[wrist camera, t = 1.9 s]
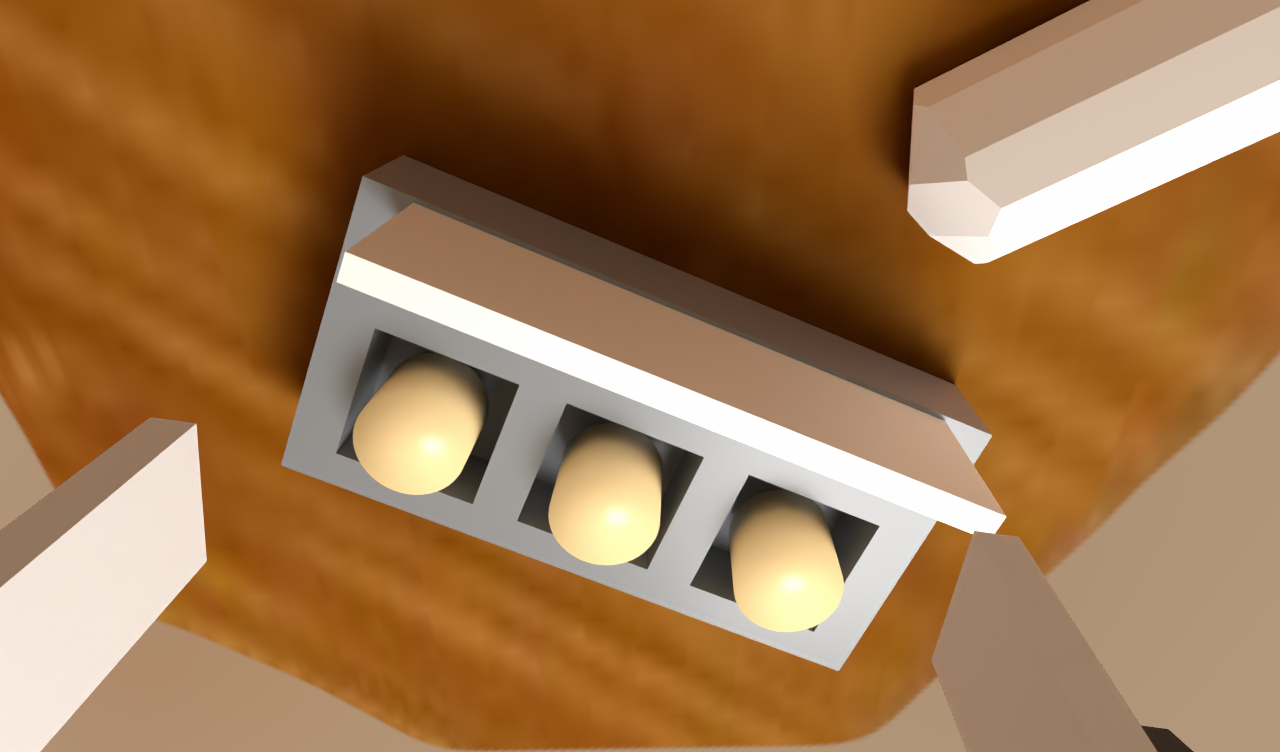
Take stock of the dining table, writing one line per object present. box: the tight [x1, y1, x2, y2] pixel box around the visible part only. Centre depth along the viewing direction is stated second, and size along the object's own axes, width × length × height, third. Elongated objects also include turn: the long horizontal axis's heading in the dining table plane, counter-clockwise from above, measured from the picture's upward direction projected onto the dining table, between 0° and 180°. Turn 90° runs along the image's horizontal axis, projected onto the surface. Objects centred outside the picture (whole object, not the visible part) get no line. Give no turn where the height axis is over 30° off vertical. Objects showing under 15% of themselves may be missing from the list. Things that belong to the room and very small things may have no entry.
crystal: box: [907, 0, 1280, 264], centre depth 31 cm, size 7×7×24 cm
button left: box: [353, 353, 489, 495], centre depth 35 cm, size 4×4×4 cm
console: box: [281, 155, 1006, 671], centre depth 34 cm, size 26×13×12 cm, turn 67°
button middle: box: [548, 423, 662, 565], centre depth 36 cm, size 4×4×4 cm
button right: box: [729, 490, 844, 632], centre depth 37 cm, size 4×4×4 cm
